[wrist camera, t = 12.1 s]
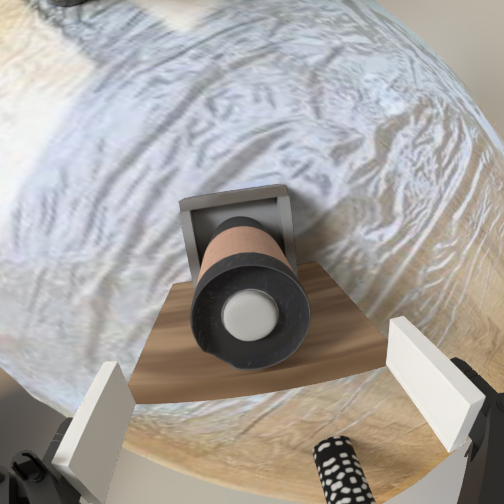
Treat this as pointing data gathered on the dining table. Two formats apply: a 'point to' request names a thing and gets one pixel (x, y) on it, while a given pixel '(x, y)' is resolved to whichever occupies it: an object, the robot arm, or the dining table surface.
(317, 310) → the l-shaped stand
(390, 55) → the dining table surface
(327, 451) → the white-spotted black cylinder
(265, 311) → the travel mug
